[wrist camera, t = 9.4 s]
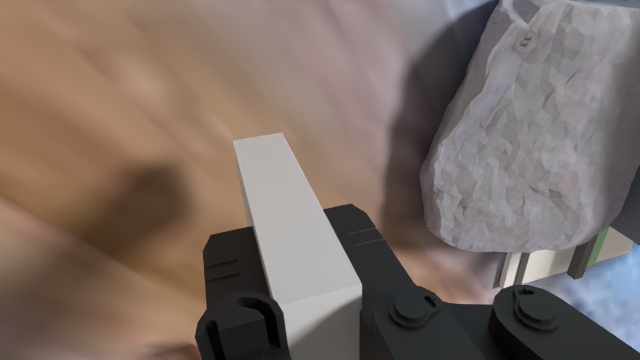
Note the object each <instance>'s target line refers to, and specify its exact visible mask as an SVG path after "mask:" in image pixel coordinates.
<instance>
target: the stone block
mask: <svg viewBox="0 0 640 360" xmlns="http://www.w3.org/2000/svg"><path fill="white" fill-rule="evenodd" d="M639 164H640V0H499V3H498V5H497V6H496V8H495V9H494V11H493V13H492V14H491V16H490V18H489V20H488V21H487V24H486V28H485V30H484V32H483V34H482V36H481V38H480V42H479V44H478V46H477V47H476V49H475V51H474V53H473V56H472V59H471V60H470V62H469V64H468V66H467V69H466V74H465V78H464V79H463V81H462V83H461V85H460V86H459V88H458V89H457V91H456V93H455V95H454V98H453V99H452V100H451V102H450V103H449V104H448V105H447V107H446V110H445V112H444V115H443V118H442V121H441V123H440V126H439V128H438V130H437V132H436V134H435V136H434V138H433V141H432V144H431V148H430V150H429V152H428V155H427V157H426V159H425V161H424V162H423V164H422V166H421V169H420V173H419V178H420V184H421V190H422V200H423V205H424V220H425V222H426V227H427V228H428V229H429V230H430V232H431V233H433V234H434V235H436V236H437V237H438V238H440V239H441V240H443V241H444V242H446V243H448V244H449V245H451V246H453V247H456V248H459V249H462V250H465V251H473V252H478V253H479V252H491V251H492V252H524V253H533V252H535V251H538V250H544V249H547V250H554V251H558V250H565V249H569V248H572V247H575V246H578V245H581V244H584V243H586V242H587V241H589V240H591V239H592V237H593V236H594V235H596V234H598V233H600V232H603V231H604V230H605V229H606V228H607V227H608V226H609V225H610V223H611V222H612V221H613V220H614V219H615V218H616V217H617V216H618V215H619V213H620V211H621V209H622V207H623V204H624V202H625V199H626V197H627V195H628V193H629V189H630V186H631V182H632V180H633V179H634V177H635V173H636V171H637V168H638V166H639Z"/></svg>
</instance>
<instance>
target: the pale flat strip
mask: <svg viewBox="0 0 640 360" xmlns="http://www.w3.org/2000/svg"><path fill="white" fill-rule="evenodd" d="M633 243H634V241H632V240H630V239H629V238H627V237H626V236H624V235H623V234H621V233H620V232H618V231H616V230H615V229H613V228H612V227H610V226H608V227H607V228H606V229H605V230H604V231H603V232H600V233H599V235H598V237H597V240H596V243H595V245H594V248H593V250H592V253H591V256H590V258H589V261H588V263H587V266H586V268H588V267H591V266H594V265H595V263H597V262H600V261H604V260H607V259H611V258H614V257H618V256H621V255H625V254H628V253H629V252H630V250H631V248H632V246H633ZM575 248H576V246H575V247H572V248H569V249H565V250H558V251H554V250H547V249H544V250H538V251H535V252H533V253H524V252H507V254H506V258H505V262H504V266H503V270H502V274H501V278H500V282H499V286H500V287H501V288H502V289H503V288H506V287H509V286H512V285H521V284H524V283H528V282H531V281H535V280H538V279H541V278H545V277H548V276H552V275H555V274H559V273H562V272H566V271H567V270H568V268H569V265H570V262H571V259H572V256H573V253H574V251H575Z"/></svg>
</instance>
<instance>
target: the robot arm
mask: <svg viewBox="0 0 640 360" xmlns="http://www.w3.org/2000/svg"><path fill="white" fill-rule="evenodd" d="M233 146H234V151H235V157H236V162H237V168H238V174H239V179H240V185H241V190H242V196H243V202H244V207H245V213H246V218H247V222H248V226H249V227H245V228H241V229H236V230H231V231H227V232H222V233H217V234H213V235H211V236H210V238H209V240H208V242H207V244H206V246H205V248H204V250H203V260H204V270H205V271H204V275H205V284H206V285H205V289H206V303H207V309H206V311H205V312H204V314H203V315H202V317H201V318H200V320H199V321H198V324H197V329H196V334H195V339H196V342H197V345H198V348H199V351H200V354H201V357H202V360H640V353H639V352H638V351H636V350H635V349H633V348H632V347H630V346H629V345H627V344H626V343H625V342H623V341H622V340H620V339H619V338H617V337H616V336H614V335H613V334H611V333H610V332H609V331H607V330H606V329H604V328H603V327H601V326H600V325H598V324H597V323H595V322H594V321H593V320H591V319H590V318H588V317H587V316H585V315H584V314H582V313H581V312H579V311H578V310H577V309H575V308H574V307H572V306H571V305H569V304H568V303H566V302H565V301H563V300H562V299H561V298H559V297H557V296H555V295H554V294H552V293H550V292H548V291H546V290H544V289H541V288H537V287H533V286H530V285H512V286H509V287H506V288H503V289H502V290H501V291H500V292H499V293H498V294H497V295H496V296H495V298H494V302H493V305H480V304H453V303H447V302H444V301H442V300H441V299H440V298H439V297H438V296H437V295H436V294H435V293H433V292H431V291H429V290H427V289H425V288H423V287H421V286H416V285H415V283H414V282H413V281H412V279H411V278H410V277H409V275H408V274H407V272H406V271H405V269H404V268H403V266H402V265H401V263H400V262H399V260H398V259H397V257H396V256H395V255H394V253H393V252H392V250H391V249H390V247H389V246H388V244H387V243H386V241H385V240H383V237H382V235H381V234H380V232H379V231H378V230H377V229H376V228H375V225H374V224H373V222H372V221H371V219H370V218H369V216H368V215H367V213H365V212H364V211H362V210H360V209H359V208H357V207H356V206H354V205H353V204H347V205H342V206H337V207H333V208H328V209H322V207H321V205H320V204H319V202H318V200H317V198H316V196H315V194H314V192H313V190H312V188H311V186H310V185H309V183H308V181H307V179H306V177H305V175H304V173H303V171H302V169H301V167H300V166H299V164H298V162H297V160H296V158H295V156H294V154H293V152H292V150H291V149H290V147H289V145H288V143H287V141H286V139H285V137H284V135H283V133H276V134H270V135H264V136H258V137H252V138H246V139H240V140H234V141H233Z"/></svg>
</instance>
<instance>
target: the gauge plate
mask: <svg viewBox="0 0 640 360" xmlns="http://www.w3.org/2000/svg"><path fill="white" fill-rule="evenodd" d="M609 226H610V227H612V228H613V229H615V230H616V231H618V232H620V233H621V234H623V235H624V236H626V237H627V238H629V239H630V240H632V241H634V242H635V243H637V244H638V245H640V164H639V166H638V168H637V171H636V173H635V177H634V179H633V180H632V182H631V186H630V189H629V193H628V195H627V197H626V199H625V202H624V204H623V207H622V209H621V211H620V213H619V215H618V216H617V217H616V218H615V219H614V220H613V221H612V222H611V223H610V225H609ZM598 235H599V233H598V234H596V235H594V236H593V237H592V239H591V240H589V241H587V242H586V243H584V244H581V245H578V246H576V248H575V251H574V253H573V256H572V259H571V262H570V265H569V268H568V270H567V274H568V275H569V276H571V277H572V278H573V279H574V280H575V279H578V278H581V277H582V276H583V274H584V271H585V269H586V266H587V263H588V261H589V258H590V256H591V253H592V250H593V248H594V245H595V243H596V240H597V237H598Z"/></svg>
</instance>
